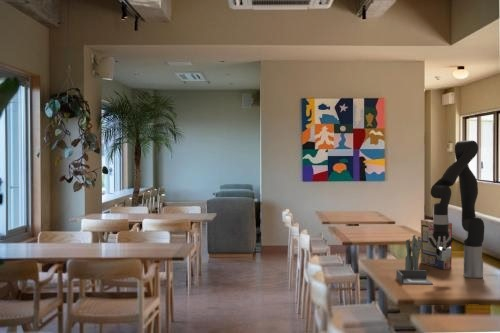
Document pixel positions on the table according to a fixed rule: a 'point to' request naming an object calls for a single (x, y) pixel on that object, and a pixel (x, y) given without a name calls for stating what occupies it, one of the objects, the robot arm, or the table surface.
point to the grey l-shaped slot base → (413, 277)
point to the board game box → (428, 250)
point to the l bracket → (444, 253)
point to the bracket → (412, 261)
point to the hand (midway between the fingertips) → (440, 255)
